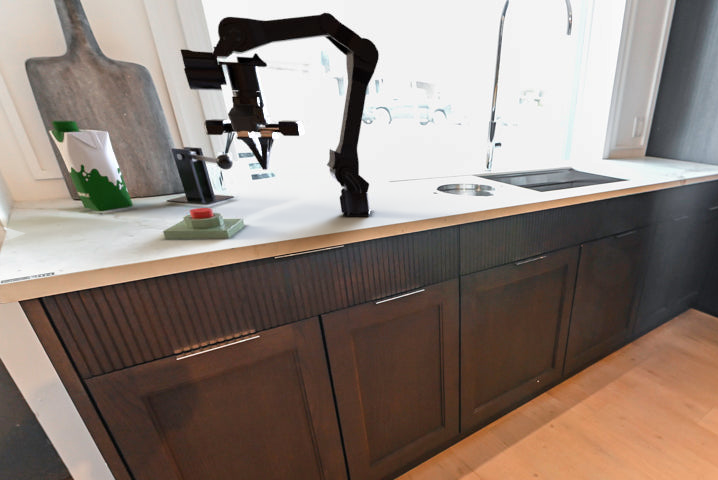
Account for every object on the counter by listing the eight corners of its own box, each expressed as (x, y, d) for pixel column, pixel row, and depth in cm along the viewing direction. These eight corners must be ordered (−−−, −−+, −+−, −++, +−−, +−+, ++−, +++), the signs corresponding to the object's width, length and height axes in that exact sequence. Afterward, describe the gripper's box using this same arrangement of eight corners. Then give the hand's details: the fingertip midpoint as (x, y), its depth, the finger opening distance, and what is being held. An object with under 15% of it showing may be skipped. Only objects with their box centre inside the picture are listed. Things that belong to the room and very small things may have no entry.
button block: (244, 226, 98) (240, 210, 97) (229, 238, 90) (224, 221, 88) (187, 226, 96) (182, 211, 94) (165, 239, 88) (159, 222, 86)
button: (217, 215, 94) (214, 207, 93) (209, 220, 90) (207, 212, 89) (196, 216, 93) (194, 207, 92) (188, 220, 89) (186, 212, 89)
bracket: (234, 200, 121) (221, 147, 114) (208, 207, 112) (192, 151, 105) (196, 197, 122) (180, 145, 115) (167, 204, 113) (149, 148, 107)
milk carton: (79, 211, 104) (39, 120, 95) (121, 204, 112) (88, 119, 102) (99, 216, 101) (60, 122, 92) (141, 208, 109) (109, 121, 99)
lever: (236, 169, 113) (234, 155, 111) (227, 171, 110) (224, 156, 108) (190, 161, 114) (187, 146, 112) (179, 162, 111) (176, 148, 109)
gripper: (181, 89, 81) (206, 175, 89) (285, 92, 85) (301, 175, 92) (204, 90, 91) (225, 167, 99) (297, 92, 94) (310, 167, 102)
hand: (265, 169), depth 98 cm, fingers closed
